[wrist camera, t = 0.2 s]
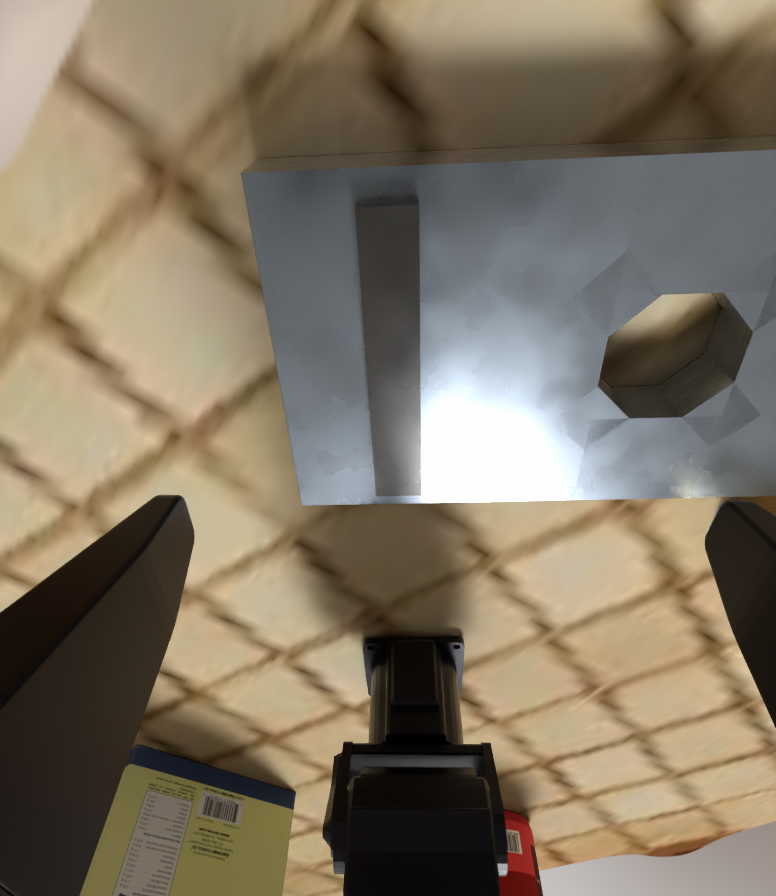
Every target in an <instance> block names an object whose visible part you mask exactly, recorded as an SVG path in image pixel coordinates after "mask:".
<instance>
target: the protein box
mask: <svg viewBox="0 0 776 896" xmlns="http://www.w3.org/2000/svg"><path fill="white" fill-rule="evenodd" d="M295 795H296V792H292V791H289V790H286V789H283V788H280V787H276V786H273V785H270V784H267V783H263V782H260V781H257V780H253V779H250V778H247V777H243V776H240V775H237V774H234V773H230V772H227V771H224V770H220V769H217V768H214V767H211V766H207V765H204V764H201V763H197V762H194V761H191V760H187V759H184V758H181V757H177V756H174V755H171V754H168V753H164V752H161V751H157V750H154V749H151V748H148V747H145V746H136V747H135V748H134V749H133V750H131V752H130V755H129V757H128V760H127V763H126V766H125V769H124V772H123V774H122V777H121V780H120V783H119V786H118V789H117V791H116V794H115V797H114V800H113V803H112V806H111V808H110V811H109V814H108V817H107V820H106V823H105V825H104V828H103V831H102V834H101V837H100V840H99V842H98V845H97V848H96V851H95V854H94V857H93V859H92V862H91V865H90V868H89V871H88V874H87V876H86V879H85V882H84V885H83V888H82V891H81V893H80V896H282V892H283V884H284V877H285V870H286V863H287V855H288V847H289V839H290V832H291V824H292V817H293V810H294V802H295Z"/></svg>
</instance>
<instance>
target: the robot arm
mask: <svg viewBox="0 0 776 896" xmlns="http://www.w3.org/2000/svg"><path fill="white" fill-rule="evenodd" d="M193 545H194V529H193V525H192V522H191V519H190V515H189V512H188V508H187V505H186V502H185V500H184V498H183V497H182V496H180V495H158V496H155V497H154V498H152V499H151V500H150V501H148V502H147V503H146V504H144V505H143V506H142V507H140V508H139V509H138V510H136V511H135V512H134V513H132V514H131V515H130V516H128V517H127V518H126V519H124V520H123V521H122V522H120V523H119V524H118V525H116V526H115V527H114V528H112V529H111V530H110V531H108V532H107V533H106V534H104V535H103V536H102V537H100V538H99V539H98V540H96V541H95V542H94V543H92V544H91V545H90V546H88V547H87V548H86V549H84V550H83V551H82V552H80V553H79V554H78V555H76V556H75V557H74V558H72V559H71V560H70V561H68V562H67V563H66V564H64V565H63V566H62V567H60V568H59V569H58V570H56V571H55V572H54V573H52V574H51V575H50V576H48V577H47V578H46V579H44V580H43V581H42V582H40V583H39V584H38V585H36V586H35V587H34V588H32V589H31V590H30V591H28V592H27V593H26V594H24V595H23V596H22V597H20V598H19V599H18V600H16V601H15V602H14V603H12V604H11V605H10V606H8V607H7V608H6V609H4V610H3V611H2V612H0V896H80V893H81V891H82V888H83V885H84V882H85V879H86V876H87V874H88V871H89V868H90V865H91V862H92V859H93V857H94V854H95V851H96V848H97V845H98V842H99V840H100V837H101V834H102V831H103V828H104V825H105V823H106V820H107V817H108V814H109V811H110V808H111V806H112V803H113V800H114V797H115V794H116V791H117V789H118V786H119V783H120V780H121V777H122V774H123V772H124V769H125V766H126V763H127V760H128V757H129V755H130V752H131V749H132V746H133V743H134V740H135V738H136V735H137V732H138V729H139V726H140V723H141V721H142V718H143V715H144V712H145V709H146V706H147V704H148V701H149V698H150V695H151V692H152V689H153V687H154V684H155V681H156V678H157V675H158V672H159V670H160V667H161V664H162V661H163V658H164V655H165V653H166V650H167V647H168V644H169V641H170V638H171V635H172V632H173V629H174V626H175V623H176V619H177V615H178V611H179V606H180V602H181V598H182V593H183V589H184V584H185V580H186V576H187V571H188V567H189V562H190V558H191V553H192V549H193ZM705 549H706V553H707V556H708V559H709V562H710V565H711V568H712V571H713V574H714V577H715V580H716V583H717V587H718V590H719V593H720V596H721V599H722V602H723V605H724V608H725V611H726V614H727V617H728V620H729V623H730V626H731V628H732V631H733V634H734V636H735V638H736V641H737V643H738V646H739V648H740V650H741V652H742V654H743V657H744V659H745V661H746V663H747V665H748V668H749V670H750V672H751V674H752V677H753V679H754V681H755V683H756V685H757V688H758V690H759V692H760V694H761V697H762V699H763V701H764V703H765V705H766V708H767V710H768V712H769V714H770V716H771V719H772V721H773V723H774V725H775V728H776V516H775V515H774V514H772V513H770V512H769V511H767V510H765V509H764V508H762V507H760V506H759V505H757V504H755V503H753V502H751V501H726V502H724V503H722V504H721V505H720V507H719V509H718V511H717V513H716V515H715V517H714V519H713V521H712V523H711V525H710V527H709V529H708V531H707V534H706V537H705ZM363 652H364V660H365V669H366V677H367V686H368V694H369V695H370V696H371V702H370V725H369V743H353V742H344V743H343V751H342V753H340V754H338V755H336V756H334V763H333V775H332V784H331V790H330V795H329V800H328V805H327V810H326V815H325V820H324V824H323V838H324V840H325V841H326V842H327V844H328V845H329V846H330V848H331V857H333V868H334V873H335V874H344V888H343V895H344V896H501V892H500V882H499V876H506V875H507V868H508V848H507V833H506V823H505V816H504V810H503V804H502V799H501V794H500V789H499V784H498V779H497V774H496V769H495V764H494V758H493V753H492V748H491V744H490V743H481V744H463V734H462V723H461V712H460V701H459V695H460V694H461V688H462V674H463V660H464V640H463V639H462V638H460V637H408V638H367V639H365V640H364V642H363Z"/></svg>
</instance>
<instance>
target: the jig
mask: <svg viewBox="0 0 776 896" xmlns="http://www.w3.org/2000/svg"><path fill="white" fill-rule="evenodd" d="M241 176H242V181H243V186H244V192H245V197H246V203H247V208H248V214H249V219H250V225H251V230H252V236H253V241H254V246H255V252H256V257H257V263H258V268H259V274H260V279H261V285H262V290H263V296H264V301H265V306H266V312H267V317H268V323H269V328H270V334H271V339H272V345H273V350H274V356H275V361H276V367H277V372H278V377H279V383H280V388H281V394H282V399H283V405H284V410H285V416H286V421H287V427H288V432H289V437H290V443H291V448H292V454H293V459H294V465H295V470H296V476H297V481H298V487H299V492H300V497H301V503H302V506H304V505H354V504H404V503H454V502H504V501H554V500H604V499H654V498H704V497H754V496H776V136H756V137H733V138H711V139H688V140H665V141H643V142H620V143H597V144H575V145H552V146H529V147H507V148H484V149H461V150H438V151H416V152H393V153H370V154H348V155H325V156H302V157H280V158H258V159H256V160H255V161H254V162H253V163H252V164H251V165H249V166H248V167H247V168H246V169H245V170H244V171H243V172H241ZM693 293H712V294H713V295H714V297H715V298H716V299H717V301H718V302H719V303H720V304H721V308H720V311H719V314H718V317H717V320H716V323H715V326H714V329H713V332H712V335H711V338H710V340H709V343H708V346H707V349H706V352H705V353H704V354H703V355H701V356H700V357H699V358H697V359H696V360H694V361H693V362H692V363H690V364H689V365H687V366H686V367H684V368H683V369H682V370H680V371H679V372H677V373H676V374H675V375H673V376H672V377H670V378H669V379H667V380H666V381H665V382H663V383H662V384H660V385H659V386H631V387H610V386H609V385H608V384H607V383H606V382H605V381H604V380H603V379H602V378H601V377H600V373H601V368H602V364H603V359H604V354H605V350H606V345H607V341H608V337H609V336H610V335H611V334H613V333H614V332H615V331H617V330H618V329H619V328H620V327H622V326H623V325H624V324H625V323H627V322H628V321H629V320H631V319H632V318H633V317H634V316H636V315H637V314H638V313H639V312H641V311H642V310H643V309H645V308H646V307H647V306H648V305H650V304H651V303H652V302H653V301H655V300H656V299H657V298H659V297H660V296H661V295H663V294H693Z"/></svg>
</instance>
